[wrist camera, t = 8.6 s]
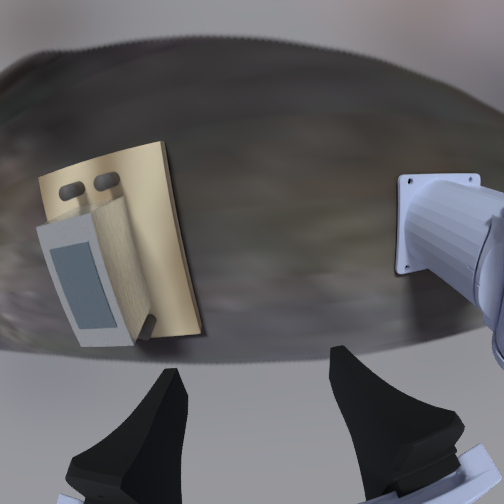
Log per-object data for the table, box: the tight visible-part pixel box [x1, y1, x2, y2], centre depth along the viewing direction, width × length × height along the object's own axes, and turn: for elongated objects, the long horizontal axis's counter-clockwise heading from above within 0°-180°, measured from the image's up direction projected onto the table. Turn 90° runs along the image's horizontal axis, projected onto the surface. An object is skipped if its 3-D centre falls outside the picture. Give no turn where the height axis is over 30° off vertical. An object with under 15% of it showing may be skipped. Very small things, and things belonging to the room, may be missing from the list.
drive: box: [36, 196, 153, 347], centre depth 16 cm, size 4×8×5 cm, turn 7°
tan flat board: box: [39, 141, 202, 341], centre depth 18 cm, size 10×14×3 cm
